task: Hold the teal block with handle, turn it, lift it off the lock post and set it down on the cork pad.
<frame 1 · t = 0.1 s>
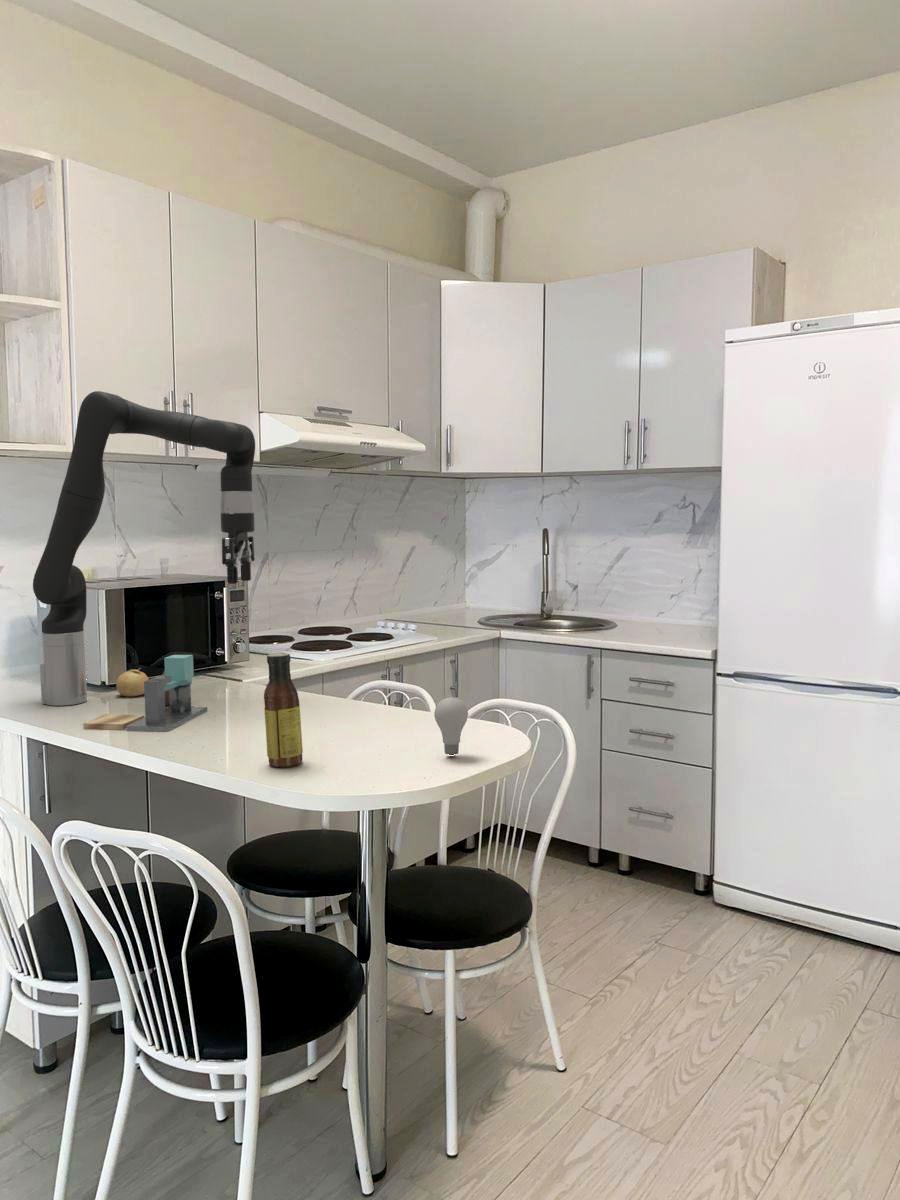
hand: (239, 582, 211), 29 cm above the breakfast bar, tool pointing down, fingers open, 8 cm apart
sauce bottle: (284, 765, 163), on the breakfast bar
teal block with handle: (179, 683, 205), point 7 cm above the breakfast bar, touching lock post
onion: (133, 696, 229), on the breakfast bar
vase: (171, 705, 216), on the breakfast bar
lock post: (181, 714, 205), on the breakfast bar
cork pad: (114, 724, 196), on the breakfast bar
lightbulb: (451, 758, 167), on the breakfast bar
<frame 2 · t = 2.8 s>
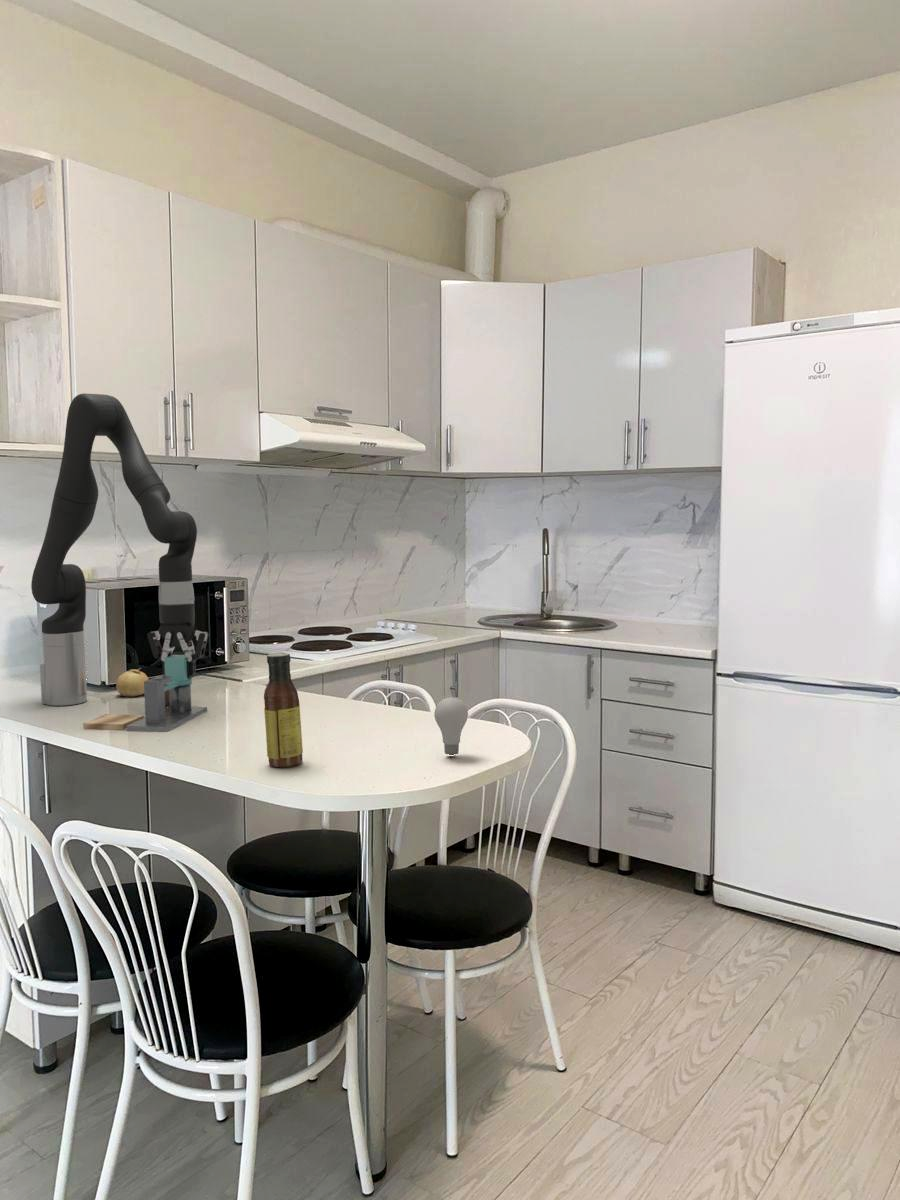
hand: (179, 677, 205), 9 cm above the breakfast bar, tool pointing down, fingers closed on teal block with handle, 4 cm apart
teal block with handle: (179, 683, 205), point 7 cm above the breakfast bar, touching gripper, lock post
everything else where it was.
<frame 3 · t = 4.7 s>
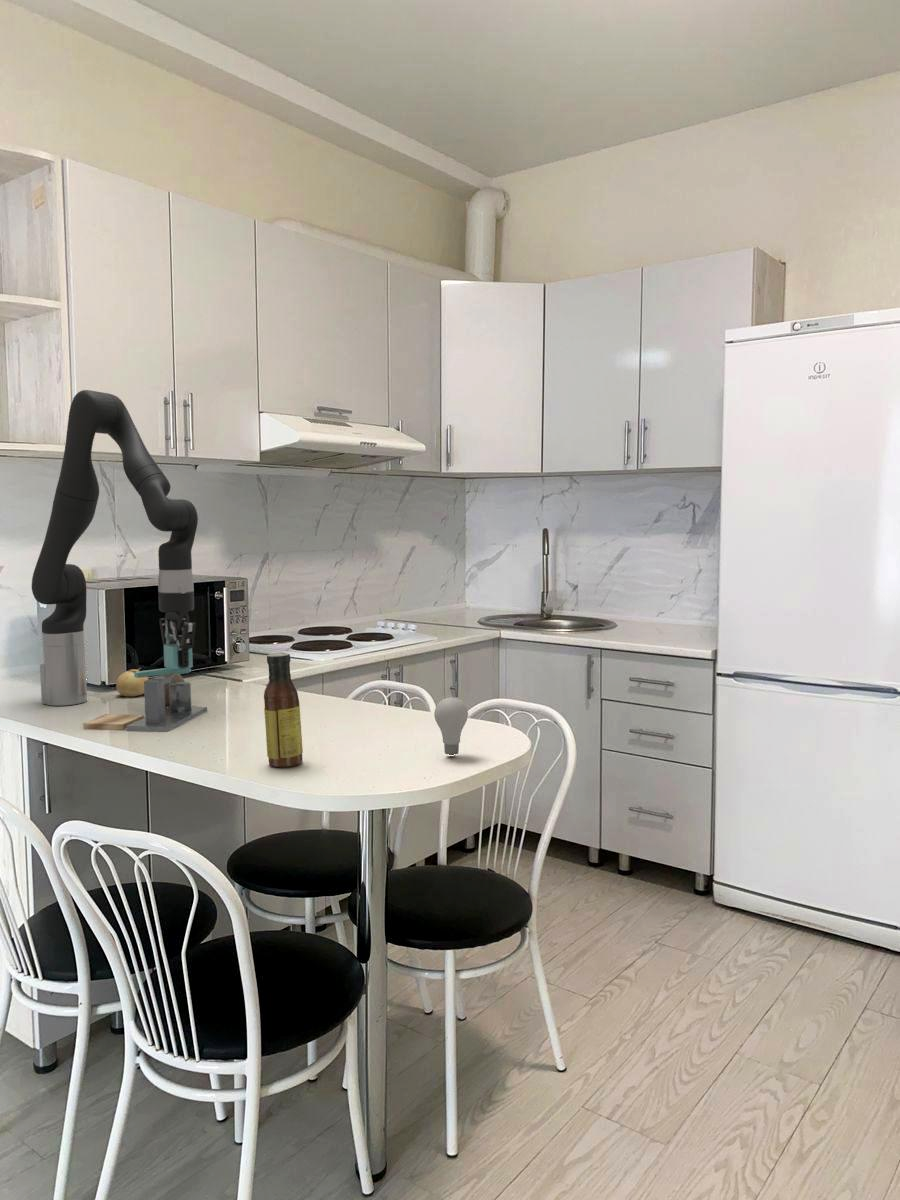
hand: (178, 665, 204), 11 cm above the breakfast bar, tool pointing down, fingers closed on teal block with handle, 4 cm apart
teal block with handle: (178, 672, 205), point 10 cm above the breakfast bar, touching gripper
everything else where it was.
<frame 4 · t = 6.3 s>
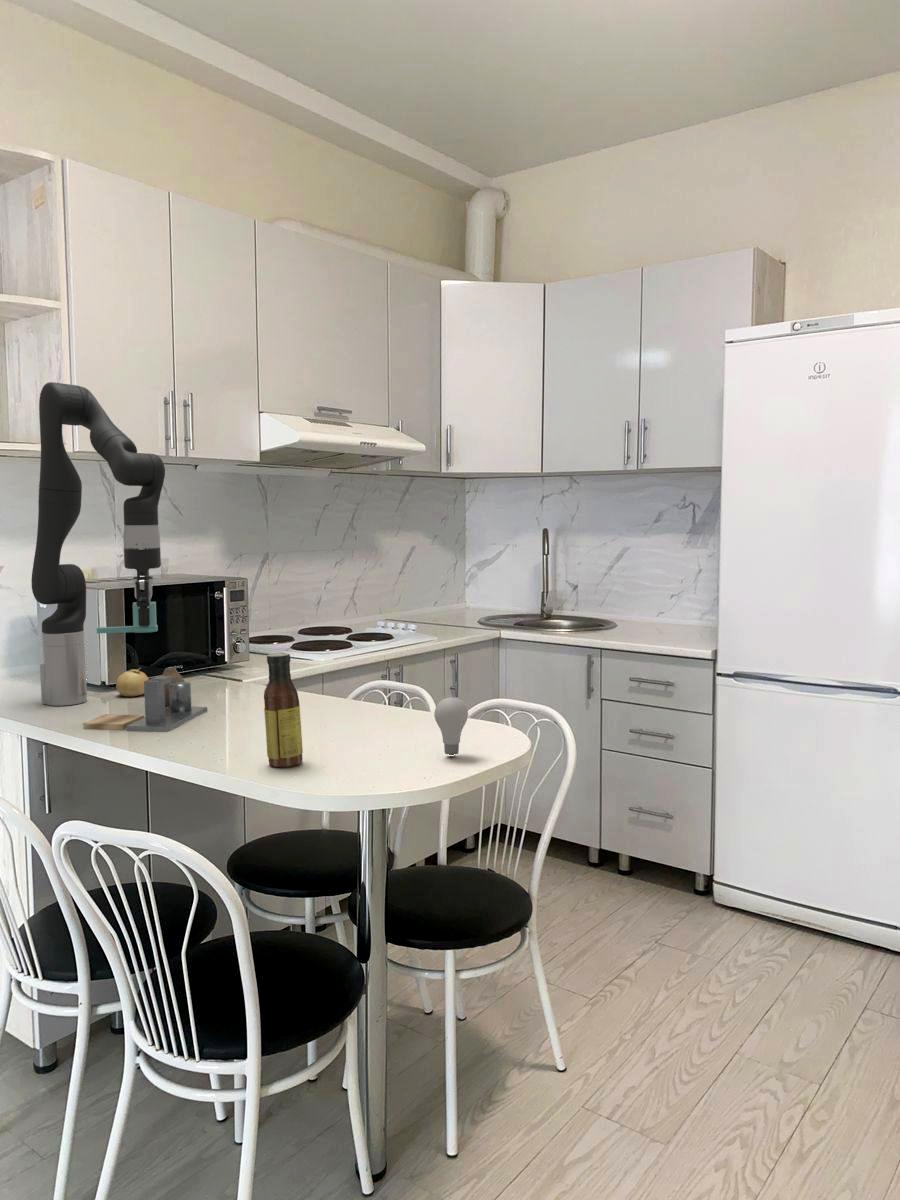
hand: (144, 624, 199), 21 cm above the breakfast bar, tool pointing down, fingers closed on teal block with handle, 4 cm apart
teal block with handle: (145, 631, 199), point 19 cm above the breakfast bar, touching gripper
everything else where it was.
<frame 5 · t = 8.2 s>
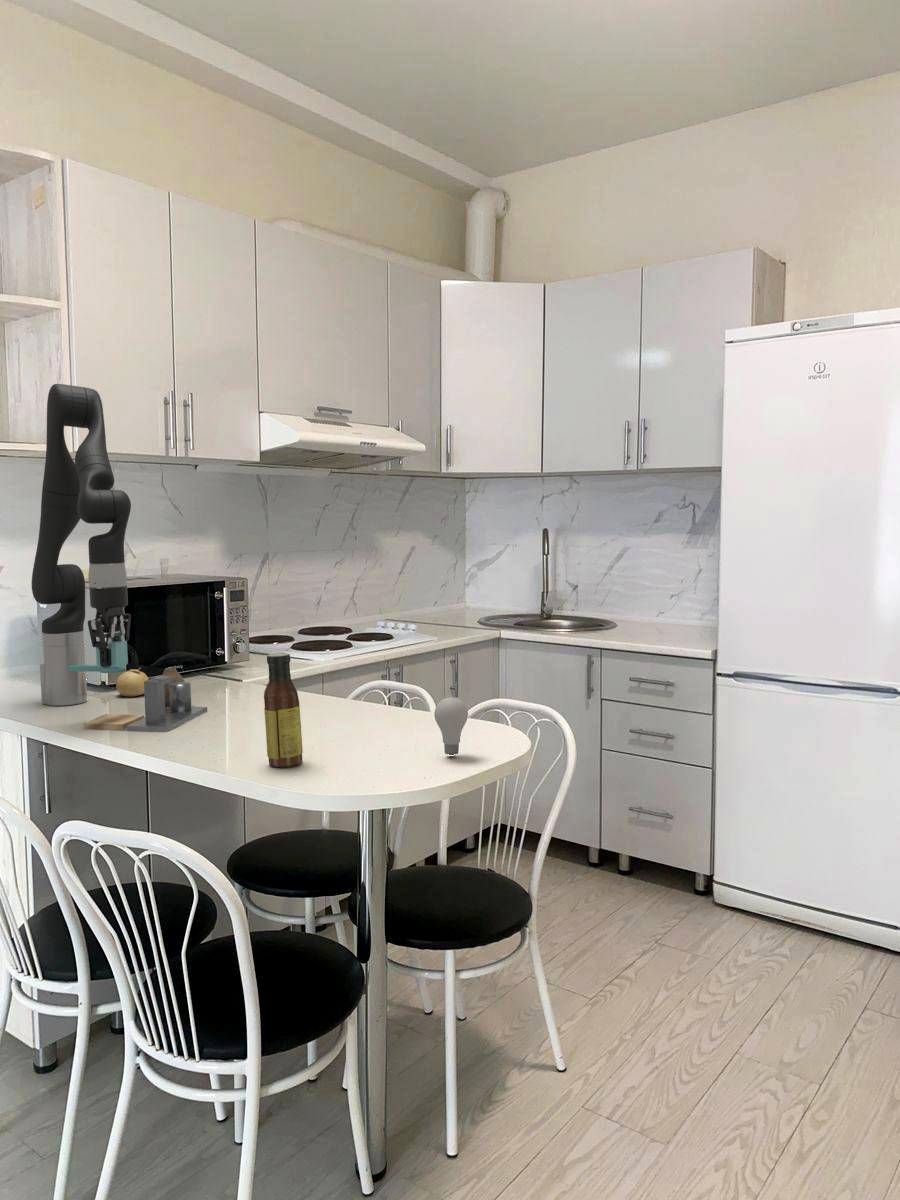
hand: (112, 664, 195), 13 cm above the breakfast bar, tool pointing down, fingers closed on teal block with handle, 4 cm apart
teal block with handle: (112, 671, 195), point 12 cm above the breakfast bar, touching gripper
everything else where it was.
when the fingers open (4 cm above the breakfast bar, at t = 9.9 s): teal block with handle drops 2 cm, resting on cork pad.
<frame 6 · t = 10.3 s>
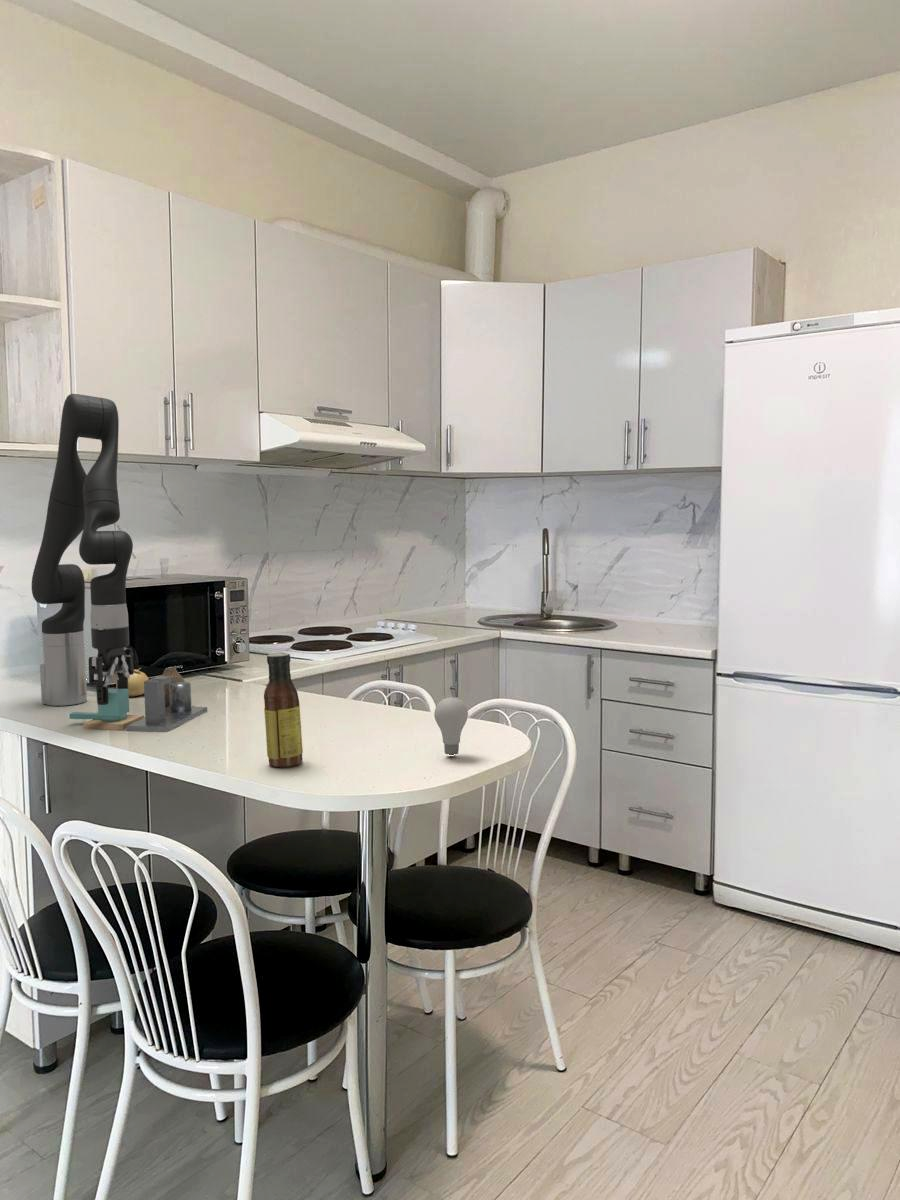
hand: (113, 700, 196), 5 cm above the breakfast bar, tool pointing down, fingers open, 8 cm apart
teal block with handle: (114, 719, 196), point 1 cm above the breakfast bar, touching cork pad
everything else where it was.
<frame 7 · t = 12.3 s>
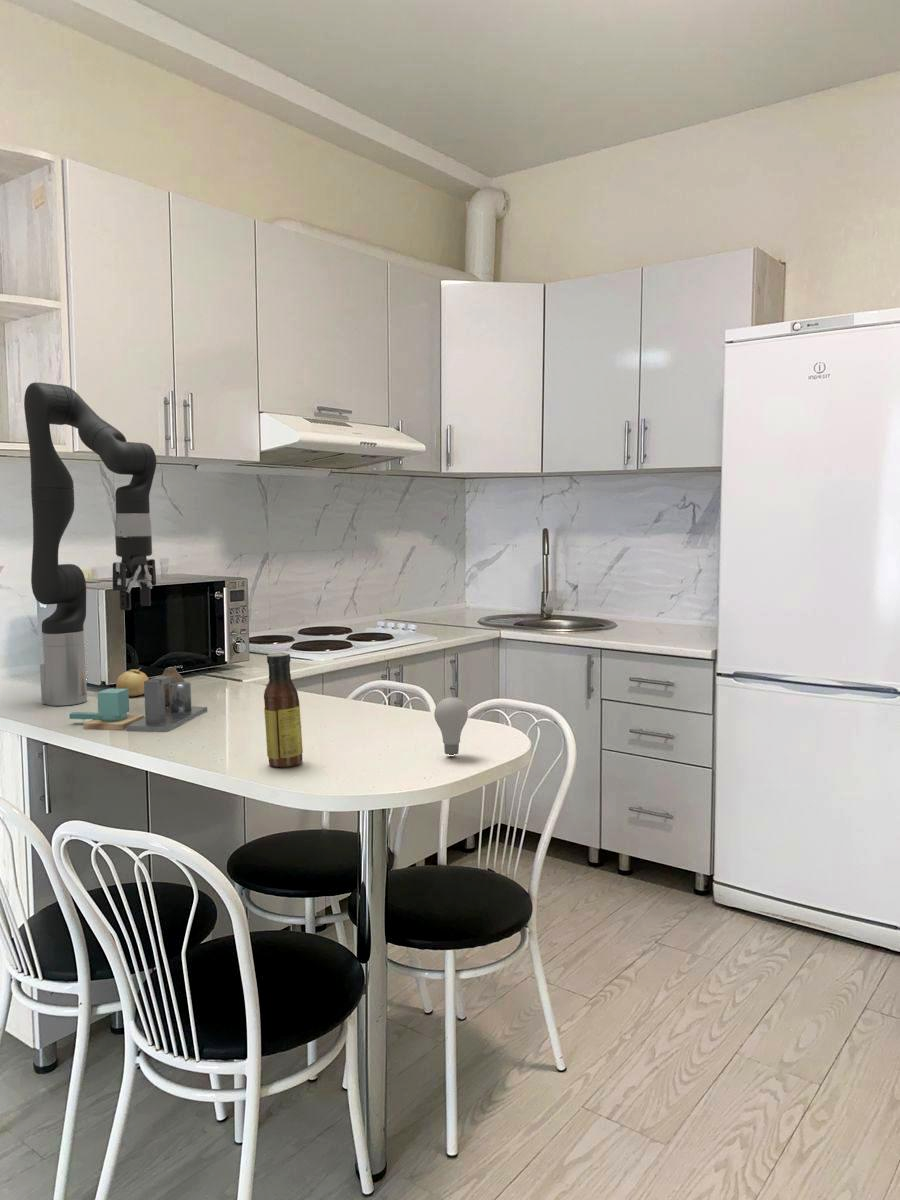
hand: (135, 607, 202), 24 cm above the breakfast bar, tool pointing down, fingers open, 8 cm apart
nothing on the breakfast bar moved.
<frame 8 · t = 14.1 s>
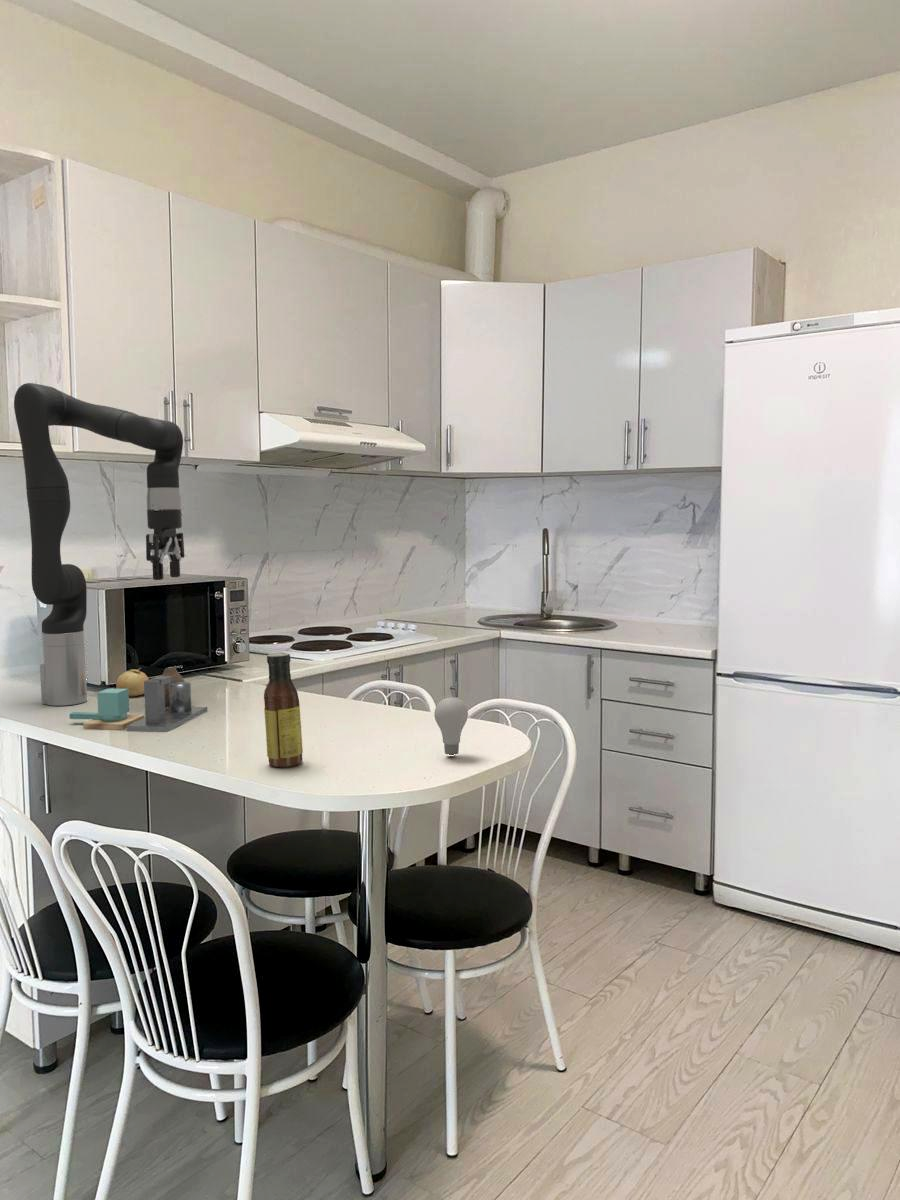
hand: (166, 578, 211), 30 cm above the breakfast bar, tool pointing down, fingers open, 8 cm apart
nothing on the breakfast bar moved.
at the end: teal block with handle inside the target area (0.0 cm from its centre), point 1.2 cm above the breakfast bar; teal block with handle tilted 0°; teal block with handle touching cork pad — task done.
